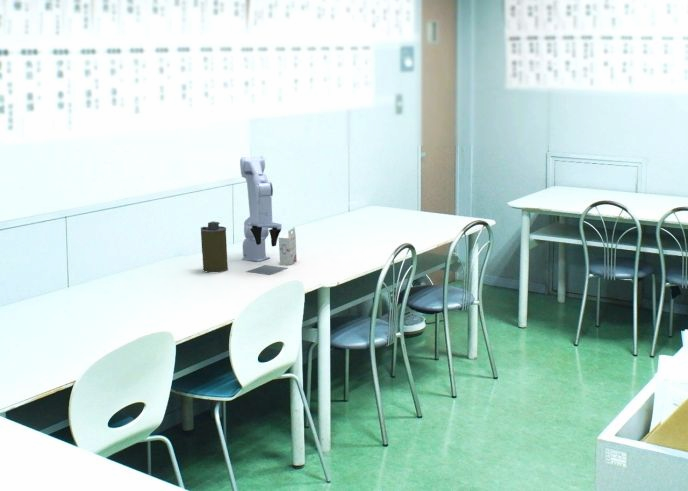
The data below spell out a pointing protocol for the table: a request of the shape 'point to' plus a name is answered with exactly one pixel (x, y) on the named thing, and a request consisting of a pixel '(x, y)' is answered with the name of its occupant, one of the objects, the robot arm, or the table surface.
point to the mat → (267, 270)
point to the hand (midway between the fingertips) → (266, 245)
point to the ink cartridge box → (287, 248)
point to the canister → (214, 248)
